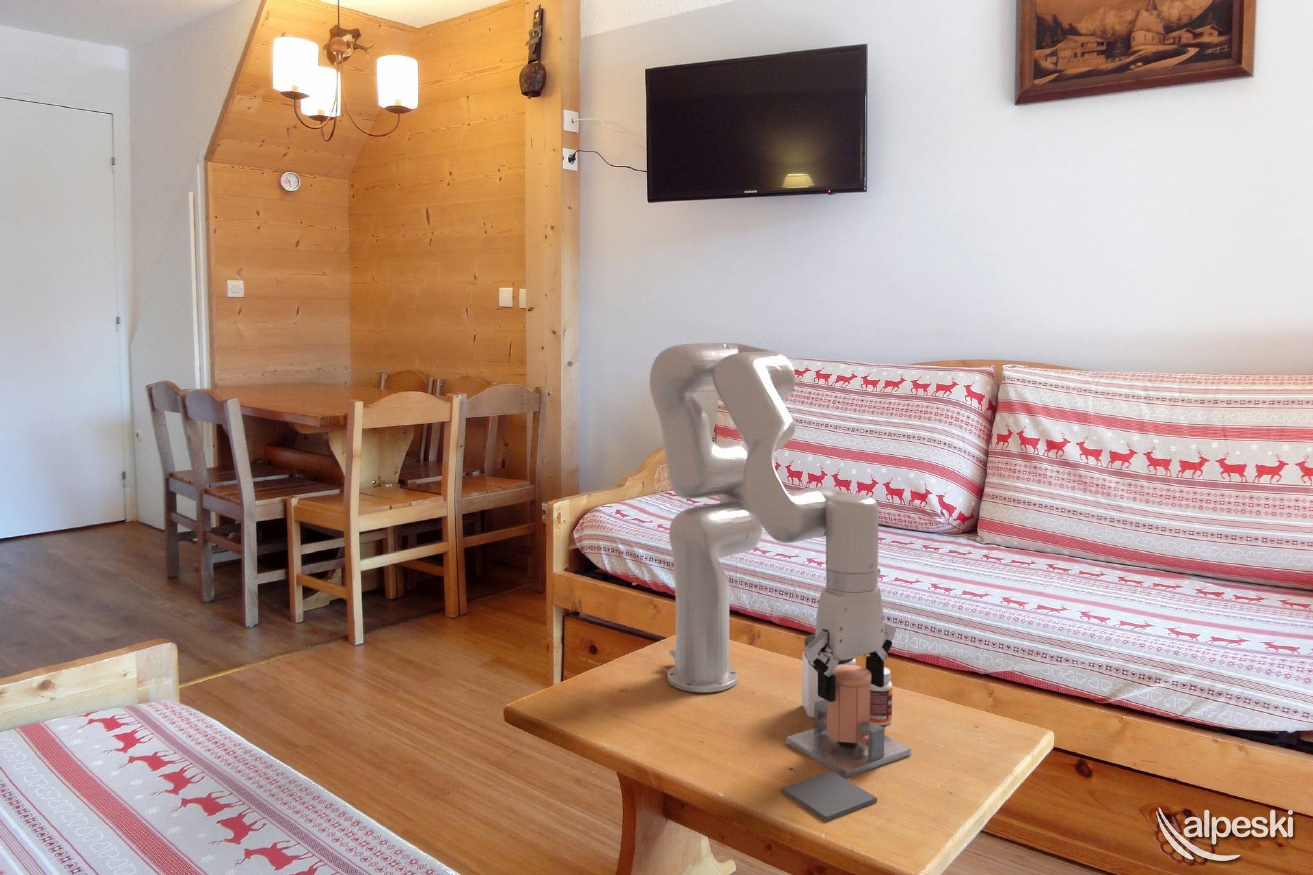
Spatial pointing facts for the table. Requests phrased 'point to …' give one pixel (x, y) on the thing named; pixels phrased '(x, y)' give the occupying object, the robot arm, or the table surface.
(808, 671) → the jar
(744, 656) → the table surface
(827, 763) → the pegged base plate
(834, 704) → the salmon domed faceted piece
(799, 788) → the coaster
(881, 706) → the pill bottle
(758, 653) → the table surface
